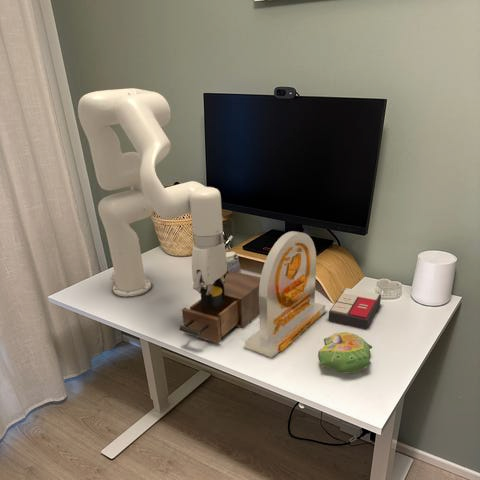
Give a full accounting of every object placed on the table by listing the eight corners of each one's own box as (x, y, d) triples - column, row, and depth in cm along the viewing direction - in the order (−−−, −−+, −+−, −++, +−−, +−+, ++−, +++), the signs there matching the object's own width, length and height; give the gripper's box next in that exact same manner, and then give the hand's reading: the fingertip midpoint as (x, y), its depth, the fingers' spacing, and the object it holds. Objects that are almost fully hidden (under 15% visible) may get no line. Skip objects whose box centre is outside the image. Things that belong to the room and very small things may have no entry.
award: (273, 358, 114) (272, 256, 100) (245, 347, 119) (241, 248, 105) (326, 312, 133) (332, 221, 119) (300, 304, 138) (303, 215, 124)
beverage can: (241, 292, 147) (240, 257, 141) (219, 291, 148) (217, 257, 142) (245, 283, 152) (243, 250, 146) (224, 282, 153) (221, 249, 147)
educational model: (375, 346, 117) (377, 328, 114) (368, 384, 104) (370, 364, 101) (326, 339, 121) (327, 321, 118) (313, 374, 108) (314, 355, 105)
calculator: (328, 309, 127) (345, 285, 138) (327, 322, 129) (344, 297, 140) (367, 317, 122) (381, 292, 133) (366, 331, 124) (380, 304, 135)
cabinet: (242, 327, 128) (241, 299, 123) (206, 317, 134) (203, 289, 129) (267, 305, 138) (267, 278, 134) (232, 297, 144) (231, 270, 140)
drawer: (207, 352, 116) (205, 328, 112) (173, 341, 121) (169, 317, 118) (245, 320, 129) (244, 297, 126) (212, 311, 135) (210, 289, 131)
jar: (200, 305, 123) (199, 292, 121) (211, 297, 127) (210, 284, 125) (216, 309, 121) (215, 296, 119) (226, 301, 124) (225, 288, 122)
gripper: (215, 226, 122) (219, 286, 131) (175, 247, 110) (183, 312, 119) (238, 230, 119) (241, 292, 128) (200, 252, 106) (206, 319, 116)
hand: (213, 301), depth 123 cm, fingers closed on jar, 5 cm apart
